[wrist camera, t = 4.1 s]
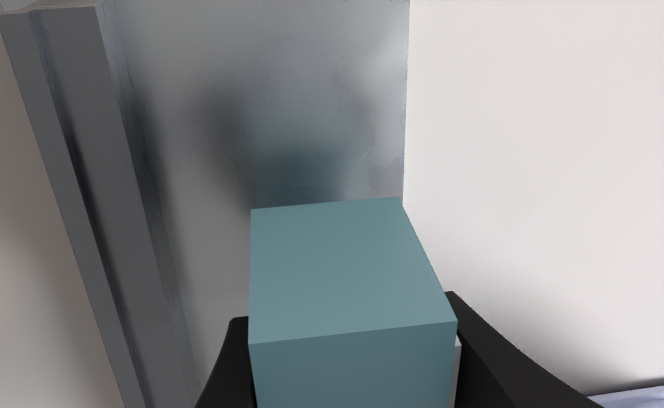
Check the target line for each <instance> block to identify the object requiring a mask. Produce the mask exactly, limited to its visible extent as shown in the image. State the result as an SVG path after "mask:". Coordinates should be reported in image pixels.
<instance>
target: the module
mask: <svg viewBox="0 0 664 408" xmlns="http://www.w3.org/2000/svg"><path fill="white" fill-rule="evenodd" d="M457 324H458V320H457V318H456V316H455V314H454V312H453V310H452V308H451V305H450V303H449V301H448V299H447V297H446V295H445V293H444V291H443V289H442V287H441V285H440V283H439V281H438V278H437V276H436V274H435V272H434V270H433V268H432V266H431V264H430V262H429V260H428V258H427V256H426V254H425V251H424V249H423V247H422V245H421V243H420V241H419V239H418V237H417V235H416V233H415V231H414V229H413V227H412V224H411V222H410V220H409V218H408V216H407V214H406V212H405V210H404V208H403V206H402V204H401V202H400V200H399V197H398V196H394V197H383V198H371V199H360V200H349V201H338V202H327V203H316V204H305V205H294V206H282V207H271V208H260V209H251V223H250V274H249V325H248V347H249V353H250V360H251V366H252V373H253V380H254V386H255V393H256V399H257V406H258V408H454V403H455V395H456V387H457V379H458V371H459V362H460V354H461V346H462V345H461V343H460V341H459V339H458V337H457V335H456V332H457Z"/></svg>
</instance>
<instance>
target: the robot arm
mask: <svg viewBox="0 0 664 408" xmlns="http://www.w3.org/2000/svg"><path fill="white" fill-rule="evenodd" d="M444 293H445V295H446V297H447V299H448V301H449V303H450V305H451V308H452V310H453V312H454V314H455V316H456V318H457V320H458V324H457V332H456V335H457V337H458V339H459V341H460V343H461V345H462V346H461V354H460V362H459V371H458V379H457V387H456V395H455V403H454V408H664V386H657V387H650V388H643V389H636V390H629V391H623V392H616V393H609V394H602V395H595V396H588V397H586V396H584V395H582V394H581V393H579V392H578V391H576V390H575V389H573V388H571V387H570V386H568V385H567V384H565V383H564V382H562V381H561V380H559V379H558V378H556V377H555V376H553V375H552V374H550V373H549V372H548V371H546V370H545V369H543V368H542V367H541V366H539V365H538V364H537V363H535V362H534V361H533V360H531V359H530V358H529V357H527V356H526V355H525V354H524V353H522V352H521V351H520V350H519V349H517V348H516V347H515V346H514V345H513V344H511V343H510V342H509V341H508V340H507V339H505V338H504V337H503V336H502V335H501V334H500V333H498V332H497V331H496V330H495V329H494V328H493V327H491V326H490V325H489V324H488V323H487V322H486V321H485V320H484V319H483V318H481V317H480V316H479V315H478V314H477V313H476V312H475V311H474V310H473V309H472V308H471V307H469V306H468V305H467V304H466V303H465V302H464V301H463V300H462V299H461V298H460V297H459V296H458V295H456V294H455V293H454V292H453V291H448V292H444ZM248 325H249V316H242V317H234V318H232V319H231V320H230V321H229V325H228V329H227V333H226V336H225V339H224V342H223V345H222V348H221V350H220V353H219V356H218V358H217V361H216V363H215V365H214V367H213V370H212V372H211V374H210V377H209V379H208V381H207V383H206V385H205V388H204V390H203V391H202V393H201V395H200V397H199V399H198V401H197V403H196V405H195V407H194V408H258V406H257V399H256V393H255V386H254V380H253V373H252V366H251V360H250V353H249V347H248Z"/></svg>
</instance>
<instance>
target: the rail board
mask: <svg viewBox="0 0 664 408" xmlns="http://www.w3.org/2000/svg"><path fill="white" fill-rule="evenodd" d="M0 3H1V6H2V9H3V12H0V31H1V34H2V37H3V40H4V43H5V46H6V49H7V52H8V55H9V58H10V61H11V64H12V67H13V70H14V73H15V76H16V79H17V82H18V85H19V88H20V91H21V94H22V97H23V100H24V103H25V106H26V110H27V113H28V116H29V119H30V122H31V125H32V128H33V131H34V134H35V137H36V140H37V143H38V146H39V149H40V152H41V155H42V158H43V161H44V164H45V167H46V170H47V173H48V176H49V179H50V182H51V185H52V188H53V191H54V194H55V197H56V200H57V203H58V206H59V209H60V212H61V215H62V218H63V221H64V224H65V227H66V230H67V233H68V236H69V239H70V242H71V245H72V248H73V251H74V254H75V257H76V260H77V263H78V266H79V269H80V272H81V275H82V279H83V282H84V285H85V288H86V291H87V294H88V297H89V300H90V303H91V306H92V309H93V312H94V315H95V318H96V321H97V324H98V327H99V330H100V333H101V336H102V339H103V342H104V345H105V348H106V351H107V354H108V357H109V360H110V363H111V366H112V369H113V372H114V375H115V378H116V381H117V384H118V387H119V390H120V393H121V396H122V399H123V402H124V405H125V408H194V407H195V405H196V403H197V401H198V399H199V397H200V395H201V393H202V391H203V390H204V388H205V385H206V383H207V381H208V379H209V377H210V374H211V372H212V370H213V367H214V365H215V363H216V361H217V358H218V356H219V353H220V350H221V348H222V345H223V342H224V339H225V336H226V333H227V329H228V325H229V321H230V320H231V319H232V318H234V317H242V316H249V274H250V223H251V209H260V208H271V207H282V206H294V205H305V204H316V203H327V202H338V201H349V200H360V199H371V198H383V197H394V196H398V197H399V200H400V202H401V204H402V201H403V173H404V146H405V118H406V90H407V62H408V35H409V7H410V0H0Z"/></svg>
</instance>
